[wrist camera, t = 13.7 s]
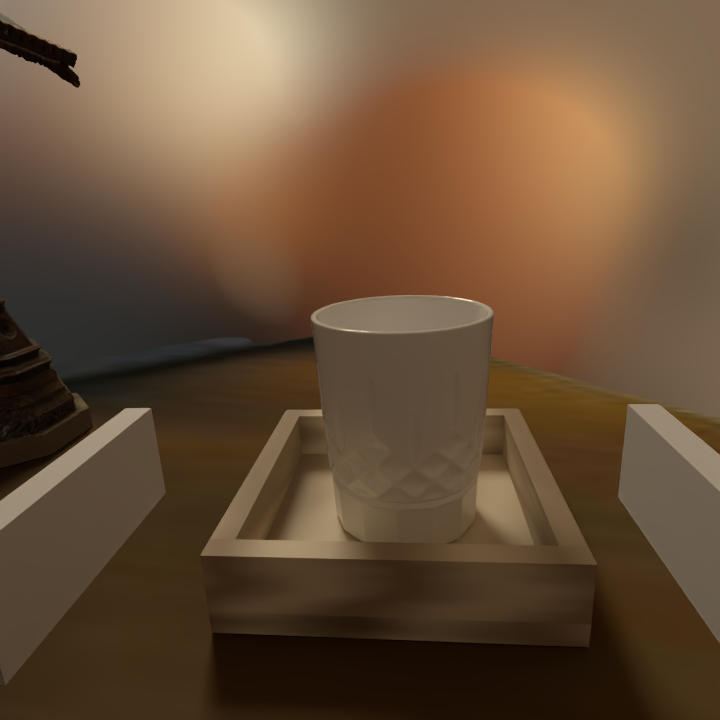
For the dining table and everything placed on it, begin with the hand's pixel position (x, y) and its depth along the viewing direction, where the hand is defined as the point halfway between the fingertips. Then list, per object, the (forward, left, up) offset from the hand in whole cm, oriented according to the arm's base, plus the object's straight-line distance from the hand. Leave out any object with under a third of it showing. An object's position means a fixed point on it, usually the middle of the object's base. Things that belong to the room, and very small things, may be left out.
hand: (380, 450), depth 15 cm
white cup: (0, +10, -8) cm, 13 cm away
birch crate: (0, +10, -9) cm, 13 cm away
